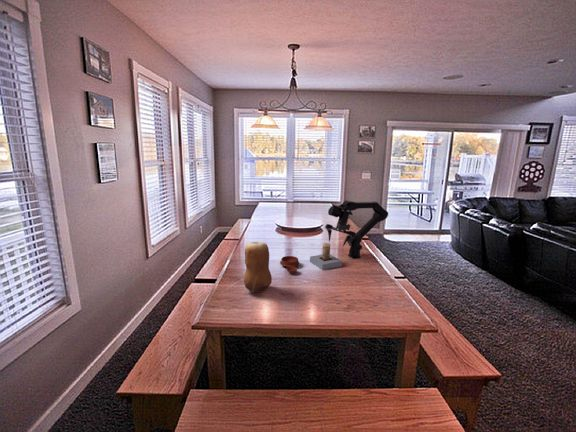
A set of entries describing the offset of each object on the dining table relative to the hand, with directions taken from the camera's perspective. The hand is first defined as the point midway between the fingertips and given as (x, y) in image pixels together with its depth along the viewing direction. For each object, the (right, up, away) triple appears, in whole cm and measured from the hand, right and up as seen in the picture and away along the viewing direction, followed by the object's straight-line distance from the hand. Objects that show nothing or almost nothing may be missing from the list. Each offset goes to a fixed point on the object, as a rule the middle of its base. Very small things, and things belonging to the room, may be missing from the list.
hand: (336, 243), depth 184 cm
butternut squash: (-45, -20, -39) cm, 63 cm away
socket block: (-7, -12, -3) cm, 14 cm away
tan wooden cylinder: (-7, -12, -3) cm, 14 cm away
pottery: (-29, -14, -11) cm, 34 cm away
